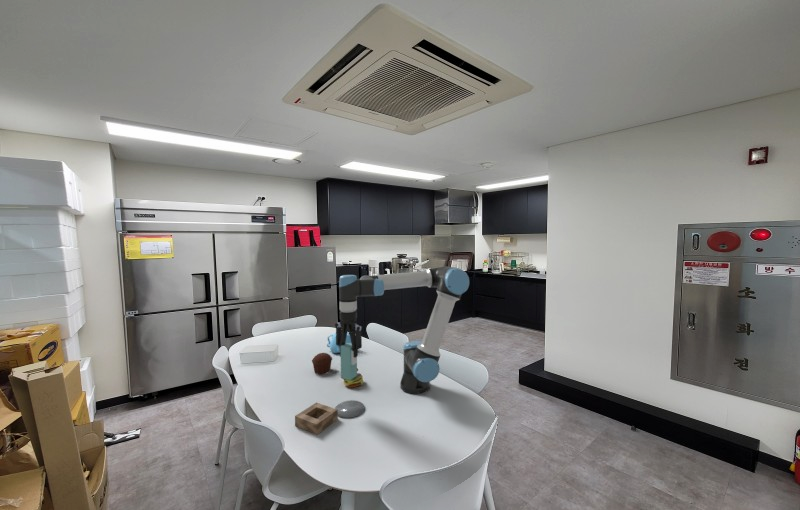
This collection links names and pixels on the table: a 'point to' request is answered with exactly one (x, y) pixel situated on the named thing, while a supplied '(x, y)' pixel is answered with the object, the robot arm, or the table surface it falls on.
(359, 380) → the cheeseburger
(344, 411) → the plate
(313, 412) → the holder
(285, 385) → the table surface
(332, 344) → the decorative pot
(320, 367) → the muffin
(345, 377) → the post
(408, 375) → the robot arm
